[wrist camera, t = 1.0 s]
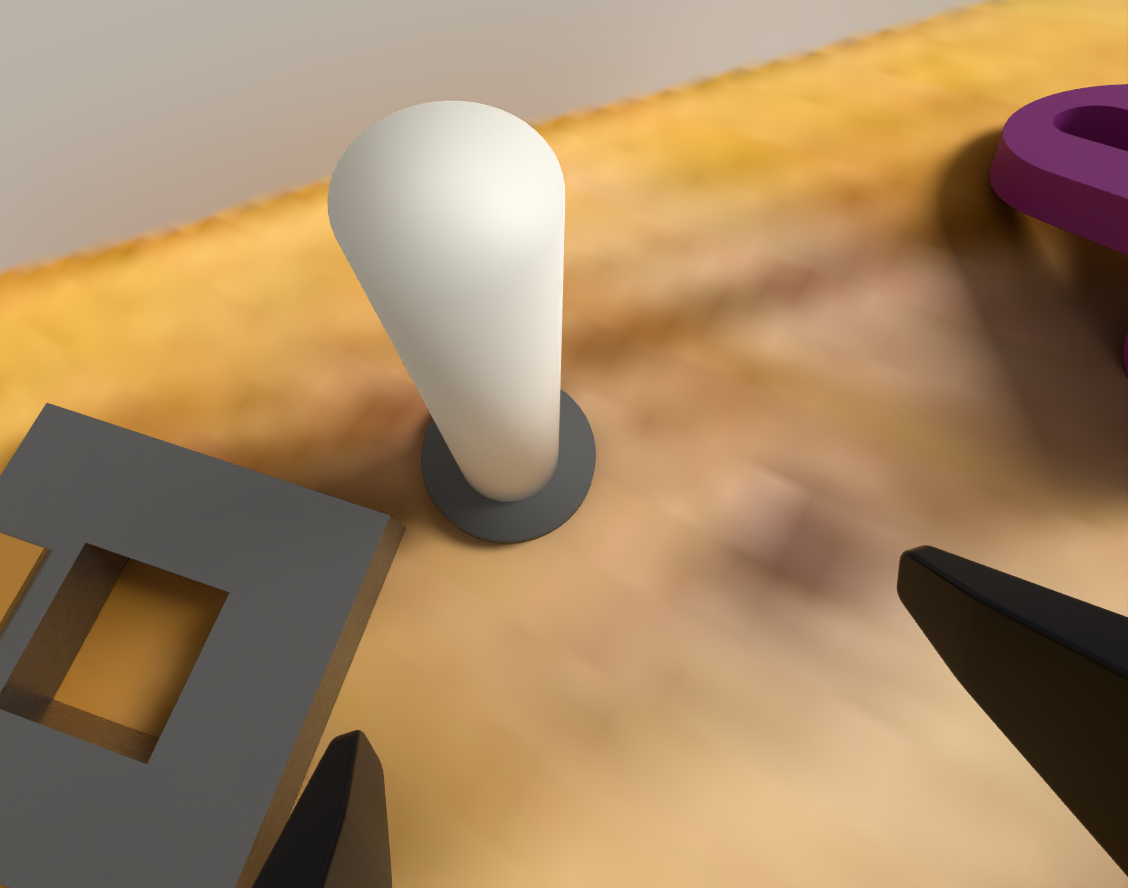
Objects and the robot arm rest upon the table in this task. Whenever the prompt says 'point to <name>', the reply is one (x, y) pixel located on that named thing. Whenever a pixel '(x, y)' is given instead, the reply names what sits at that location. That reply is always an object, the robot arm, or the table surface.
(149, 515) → the rack plate
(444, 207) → the peg
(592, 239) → the table surface
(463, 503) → the pad
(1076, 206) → the mounting bracket
